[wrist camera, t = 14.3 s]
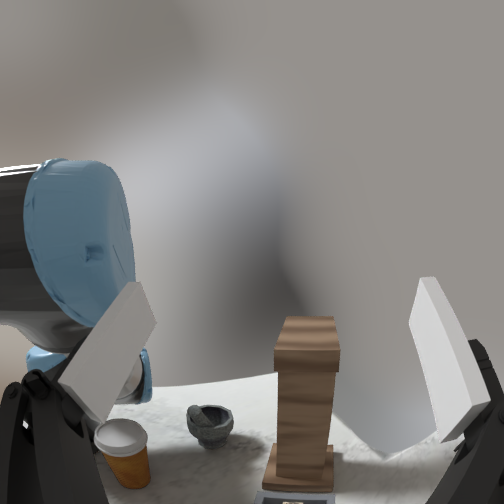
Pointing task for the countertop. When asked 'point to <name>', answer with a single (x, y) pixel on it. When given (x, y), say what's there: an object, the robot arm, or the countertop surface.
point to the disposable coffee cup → (125, 451)
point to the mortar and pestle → (210, 424)
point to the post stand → (304, 405)
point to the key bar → (291, 503)
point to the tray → (292, 498)
